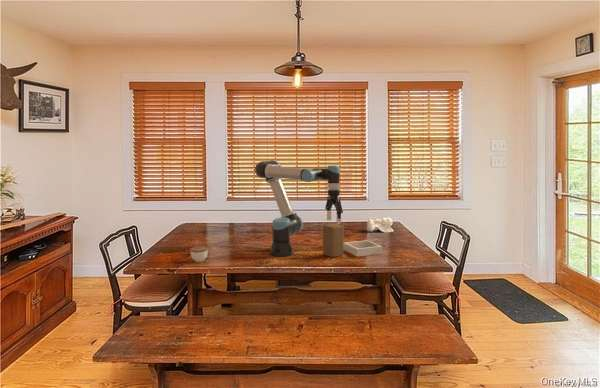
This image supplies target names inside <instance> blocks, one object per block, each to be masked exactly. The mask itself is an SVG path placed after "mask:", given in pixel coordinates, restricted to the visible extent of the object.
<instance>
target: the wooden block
mask: <svg viewBox="0 0 600 388" xmlns="http://www.w3.org/2000/svg"><path fill="white" fill-rule="evenodd" d="M344 228H345V227H344V225H341V224H337V223H328V224H324V225H323V226H322V232H323V233H322V251H323V252H322V254H323V255H324V256H327V257H330V258H333V259H334V258H337V257H341V256H343V255H344V250H343V246H344V243H345V241H344V239H345V238H344V233H345V230H344Z"/></svg>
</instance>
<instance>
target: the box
mask: <svg viewBox="0 0 600 388" xmlns="http://www.w3.org/2000/svg"><path fill="white" fill-rule="evenodd" d="M343 251H344V252H347V253H349V254H350V255H352V256H355V257H357V258H358V257H359V258H360V257H367V256H368V257H369V256H374V255H382V254H383V246H381V245H379V244H378V243H376V242H375V243H374V242H372V241H370V240H368V239H366V240H357V241H348V242H347V241H346V242H344V246H343Z"/></svg>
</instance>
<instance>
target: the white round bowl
mask: <svg viewBox="0 0 600 388" xmlns="http://www.w3.org/2000/svg"><path fill="white" fill-rule="evenodd" d="M189 250H190V256H191V259H192V260H193V261H194V262H197V263H200V262H201V263H202V262H203V261H205V260H206V259H207V257H208V255H209V253H208V252H209V248H208V247H207V246H201V245H197V246H194V247H190V249H189Z"/></svg>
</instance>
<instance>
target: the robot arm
mask: <svg viewBox="0 0 600 388" xmlns="http://www.w3.org/2000/svg"><path fill="white" fill-rule="evenodd" d="M254 173H255V174H256V176H257V178H260V179H265V182H266V183H267V184H269V186H270V188H271V191H272V194H273V197H274V199H275V201H276V205H277V207H278V210H279V213H280V217H278V218H275V219H273V221H272V225H271V226H272V227H271V228H272V231H271V232H272V243H271V246H270V250H269V254H270V255H271V256H274V257H288V256H292V255H293V253H294V250H293V247H292V243H291V236H292V235H296V234H298V233H300V232H301V231H302V230H303V228H304V222H303V219H302V218H301V217H300V216H298V214H297V212H296V211H294V210H293V207H292V205H291V202H290V199H289V197H288V193H287V192H286V190H285V186H284V184H283V182H282V179H287V180H294V181H295V180H296V181H304V182H306V183H311V182H316V181H317V182H318V181H327V196H326V197H327V200H326V205H325V210H326V220H327V221H332V207H333V206H334V208H335V210H336V224H338V225H341V223H342V214H343V212H344V211H343V207H342V202H341V197H339V196H340V194H341V193H340V185H341V184H340V178H341V177H340V176H341V175H340V174H341V173H340V166H339V165H328V166H327V168H321V167H320V168H319V167H318V168H316V167H315V168H314V167H313V168H311V169H309V168H300V167H290V166H289V167H288V166H282V165H281V164H280V162H278V161H276V160H265V161H264V160H263V161H260V162H259V161H258V163H257V164H256V165H255V167H254Z"/></svg>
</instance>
